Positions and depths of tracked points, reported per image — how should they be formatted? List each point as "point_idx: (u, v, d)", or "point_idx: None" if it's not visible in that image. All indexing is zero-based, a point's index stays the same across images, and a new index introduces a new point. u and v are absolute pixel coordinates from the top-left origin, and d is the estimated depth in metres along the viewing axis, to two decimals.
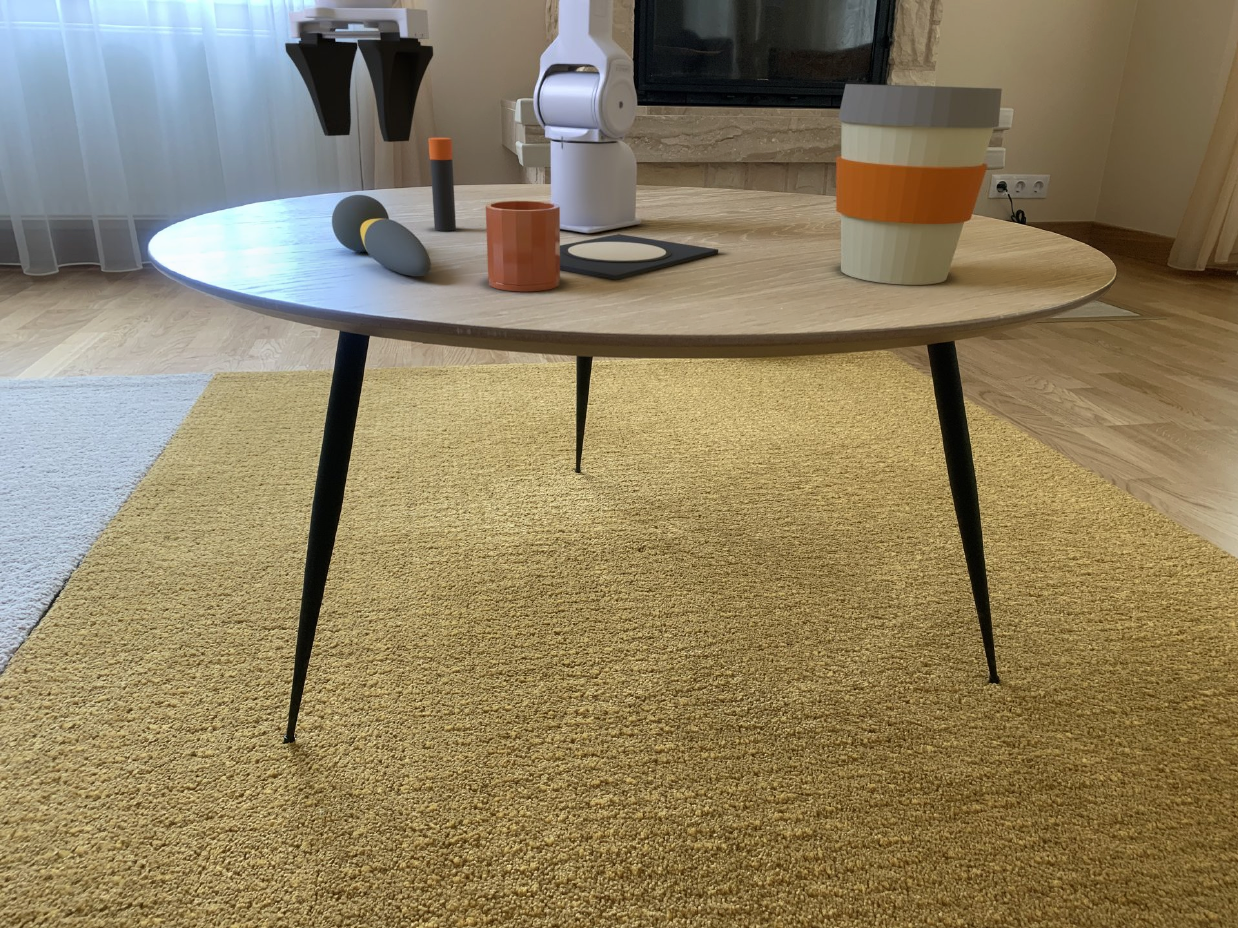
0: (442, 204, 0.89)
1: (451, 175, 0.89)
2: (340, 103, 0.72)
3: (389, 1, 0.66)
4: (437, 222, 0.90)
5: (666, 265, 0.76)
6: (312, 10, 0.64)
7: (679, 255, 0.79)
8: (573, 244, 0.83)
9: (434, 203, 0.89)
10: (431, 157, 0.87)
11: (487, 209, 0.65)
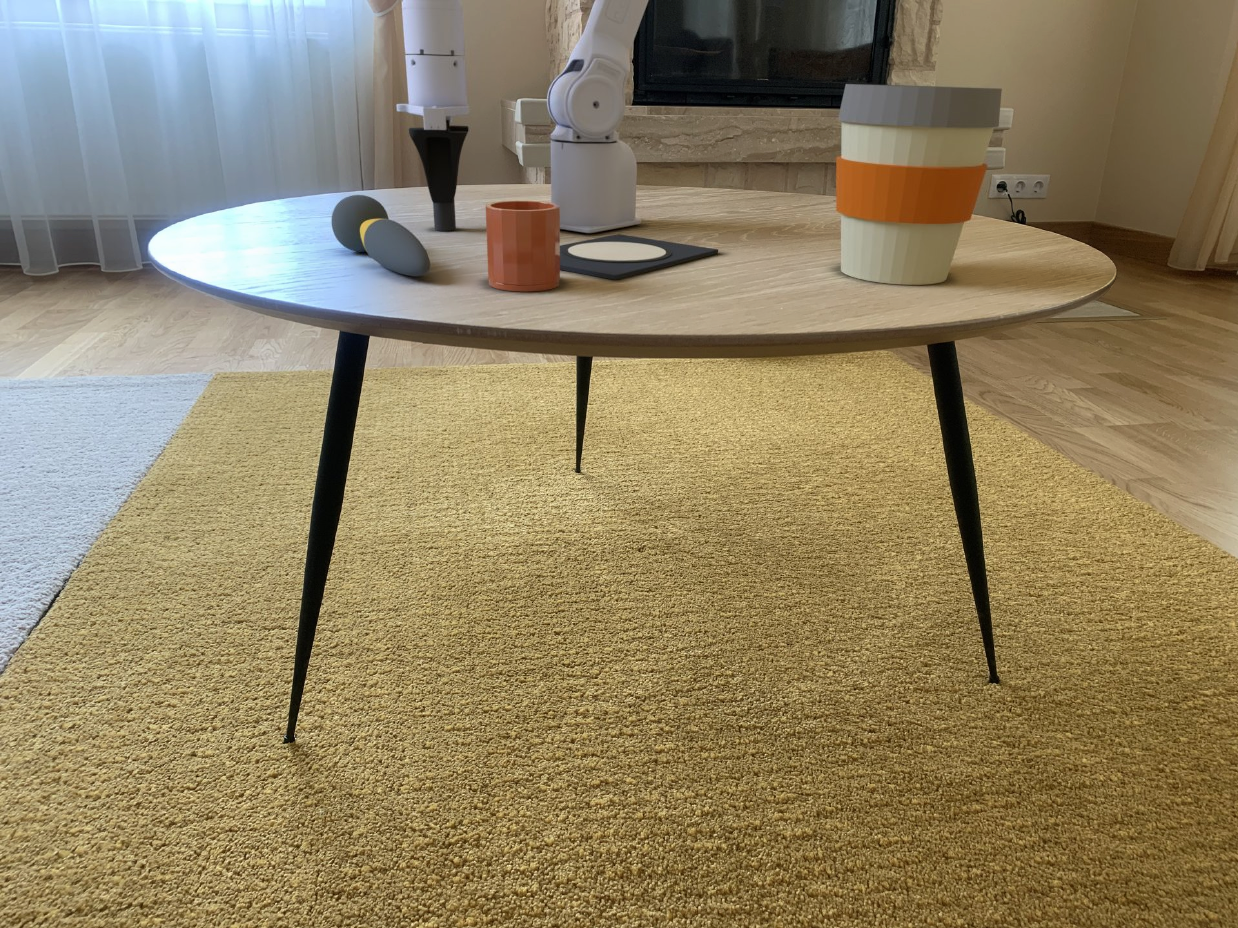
0: (442, 204, 0.89)
1: None
2: None
3: (452, 98, 0.84)
4: (437, 222, 0.90)
5: (666, 265, 0.76)
6: (397, 106, 0.85)
7: (679, 255, 0.79)
8: (573, 244, 0.83)
9: (434, 203, 0.89)
10: None
11: (487, 209, 0.65)
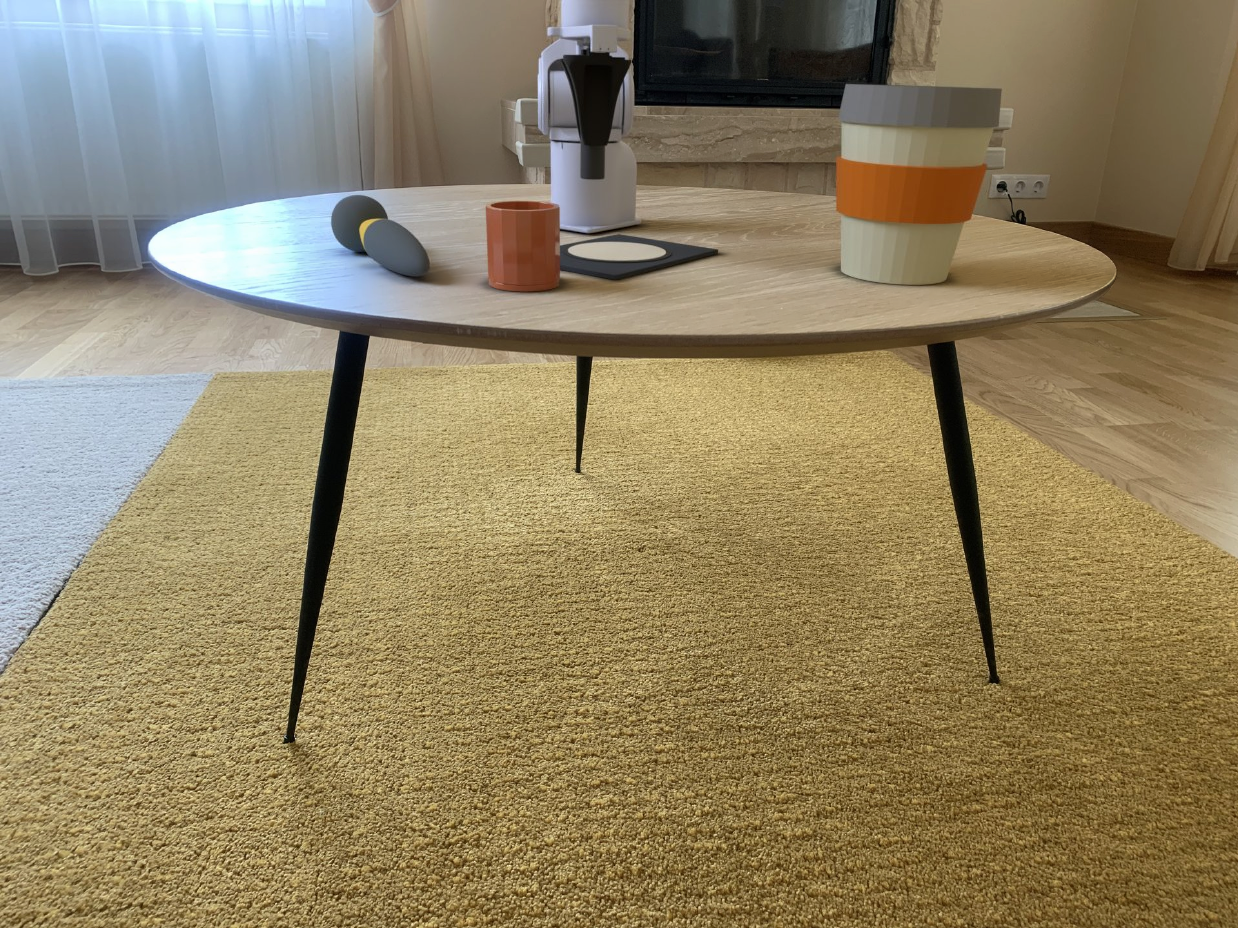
0: (592, 148, 0.76)
1: None
2: None
3: (616, 18, 0.71)
4: (585, 169, 0.77)
5: (666, 265, 0.76)
6: (548, 30, 0.73)
7: (679, 255, 0.79)
8: (573, 244, 0.83)
9: (583, 146, 0.77)
10: None
11: (487, 209, 0.65)
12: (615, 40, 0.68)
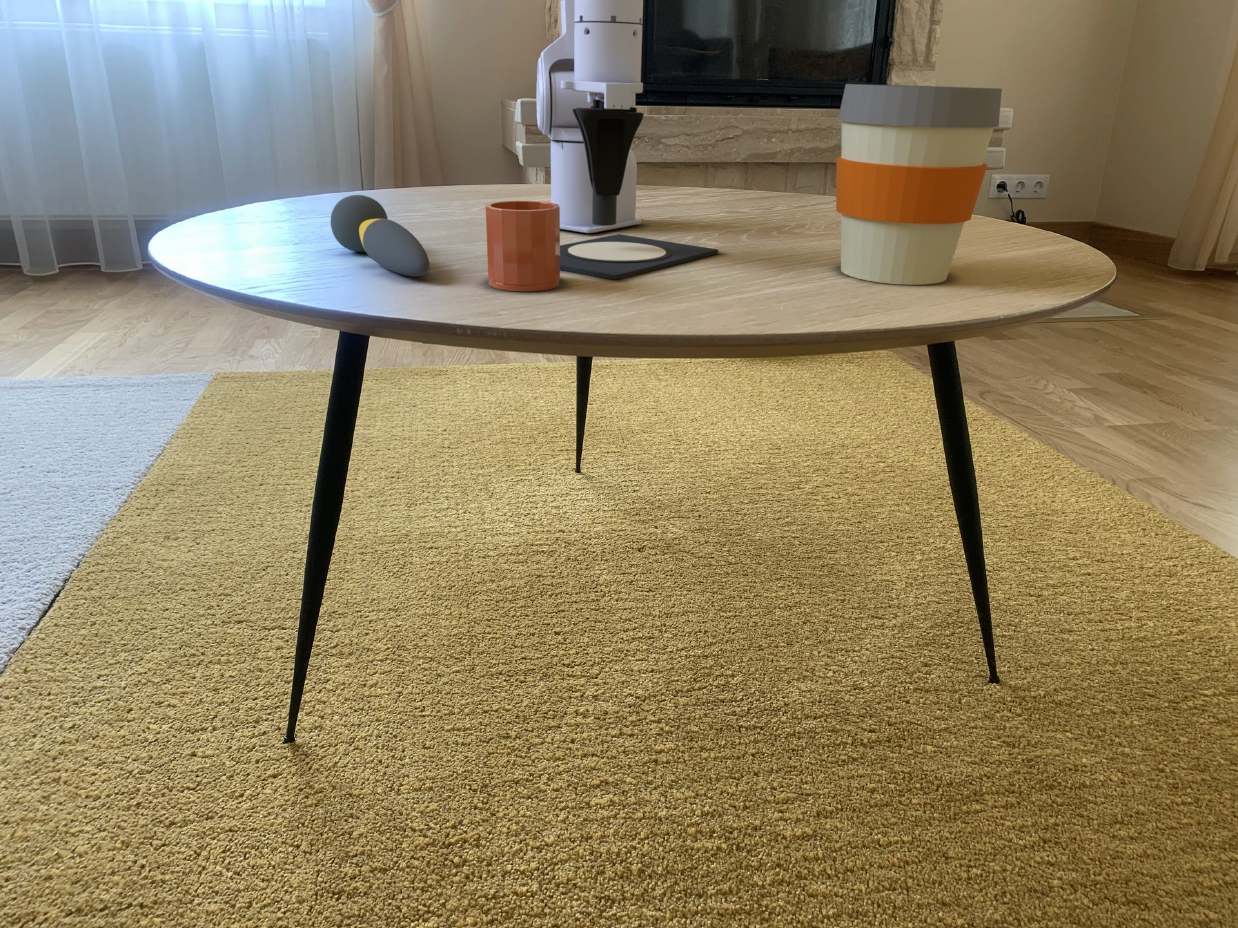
0: (604, 195, 0.77)
1: None
2: None
3: (628, 73, 0.72)
4: (597, 216, 0.78)
5: (666, 265, 0.76)
6: (561, 83, 0.74)
7: (679, 255, 0.79)
8: (573, 244, 0.83)
9: (595, 193, 0.78)
10: None
11: (487, 209, 0.65)
12: (628, 97, 0.69)
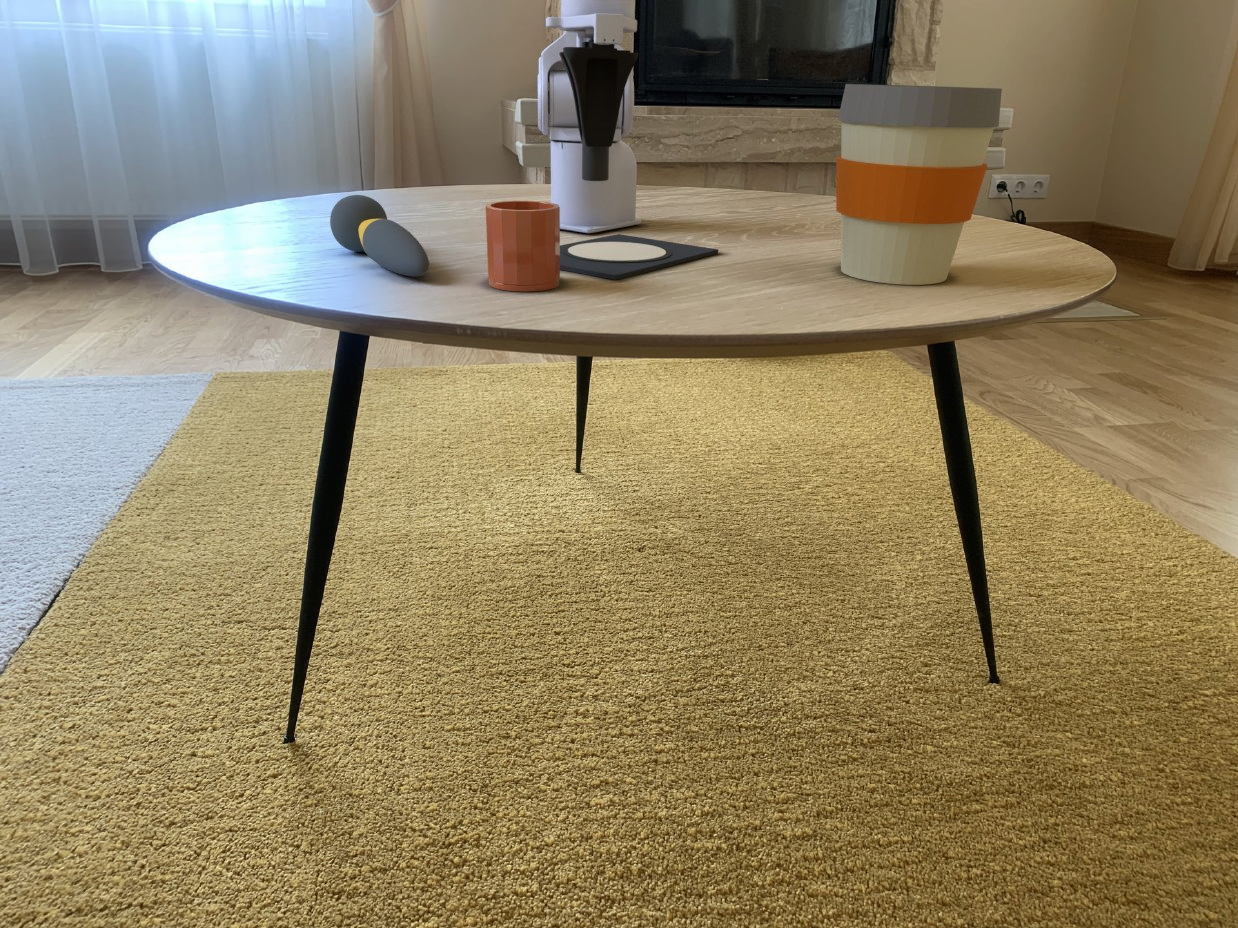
0: None
1: None
2: None
3: (621, 7, 0.65)
4: (587, 170, 0.71)
5: (666, 265, 0.76)
6: (546, 20, 0.67)
7: (679, 255, 0.79)
8: (573, 244, 0.83)
9: None
10: None
11: (487, 209, 0.65)
12: (621, 30, 0.61)
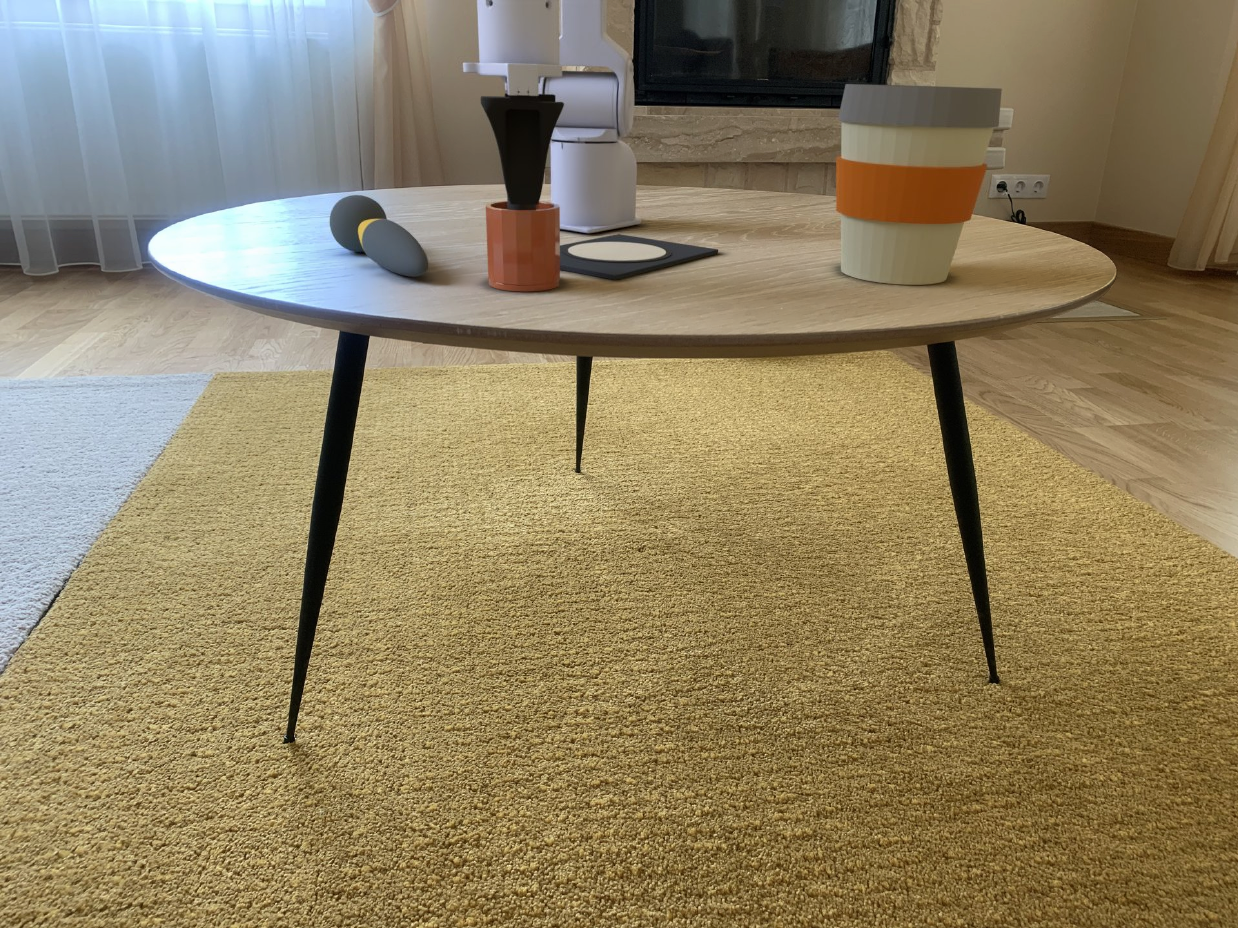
0: None
1: (534, 206, 0.66)
2: None
3: (542, 53, 0.60)
4: None
5: (666, 265, 0.76)
6: None
7: (679, 255, 0.79)
8: (573, 244, 0.83)
9: None
10: None
11: (487, 209, 0.65)
12: (536, 81, 0.56)
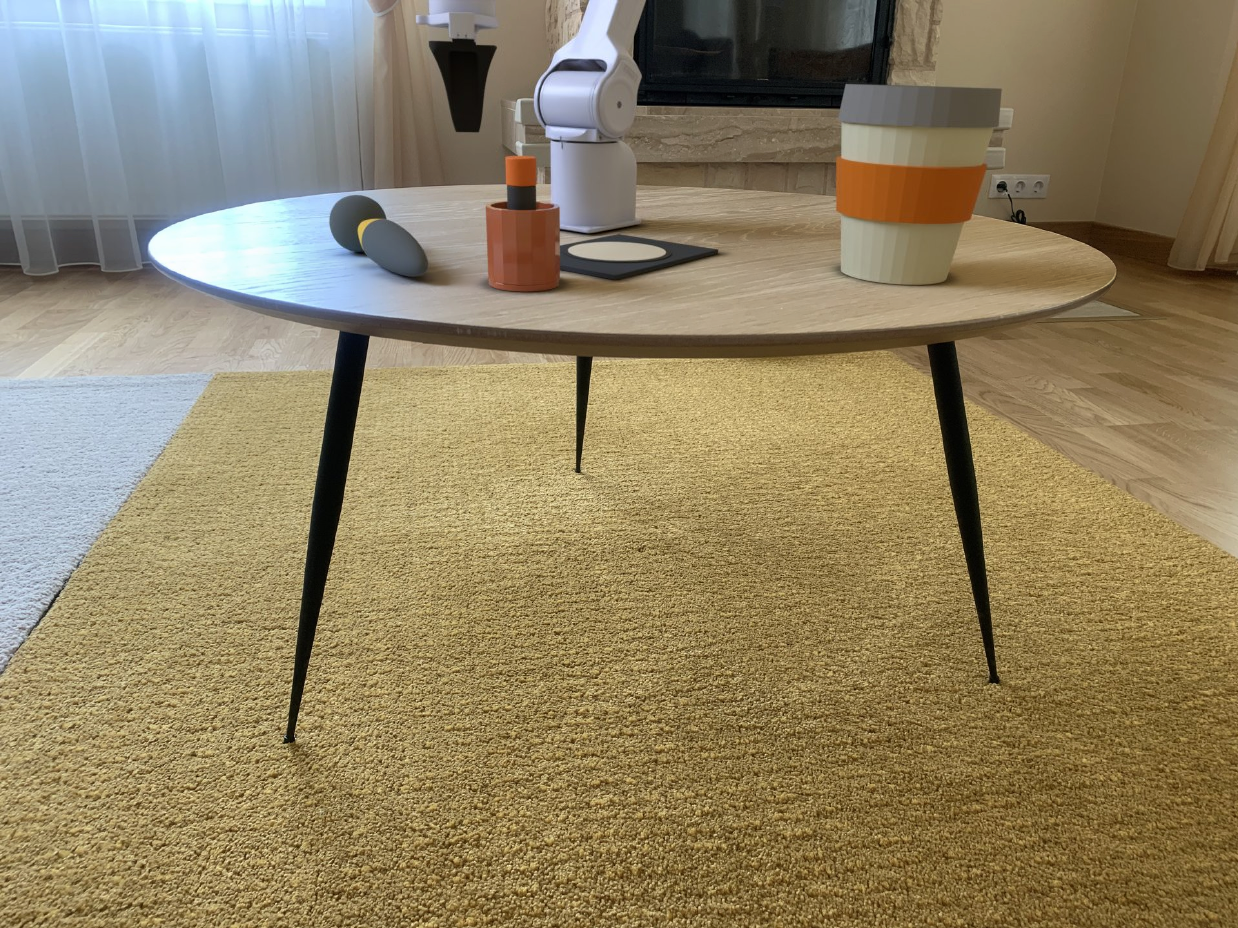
0: None
1: (534, 206, 0.66)
2: None
3: (479, 6, 0.74)
4: None
5: (666, 265, 0.76)
6: (416, 18, 0.75)
7: (679, 255, 0.79)
8: (573, 244, 0.83)
9: None
10: (509, 182, 0.65)
11: (487, 209, 0.65)
12: (472, 27, 0.70)
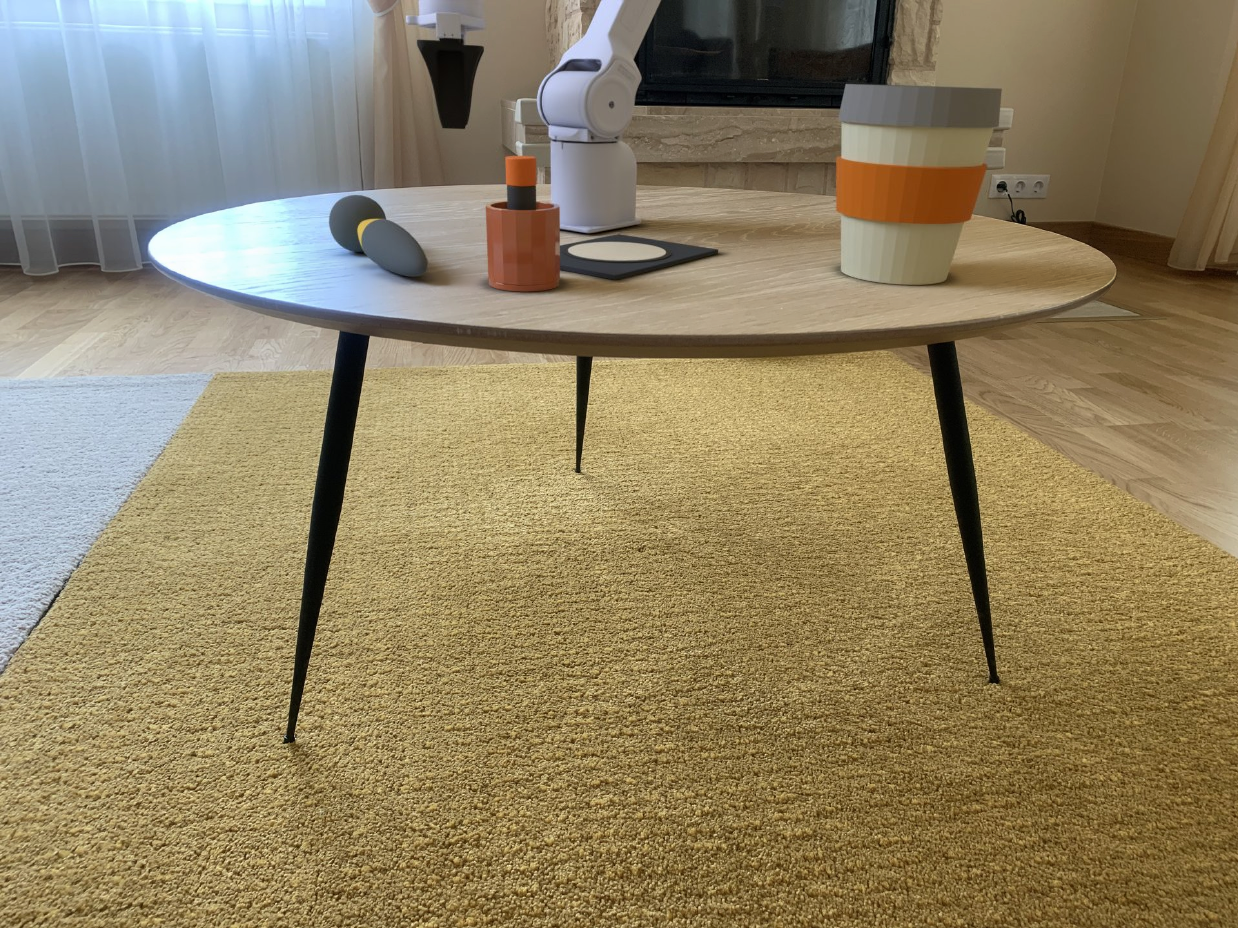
0: None
1: (534, 206, 0.66)
2: None
3: (467, 8, 0.76)
4: None
5: (666, 265, 0.76)
6: None
7: (679, 255, 0.79)
8: (573, 244, 0.83)
9: None
10: (509, 182, 0.65)
11: (487, 209, 0.65)
12: (458, 27, 0.73)
